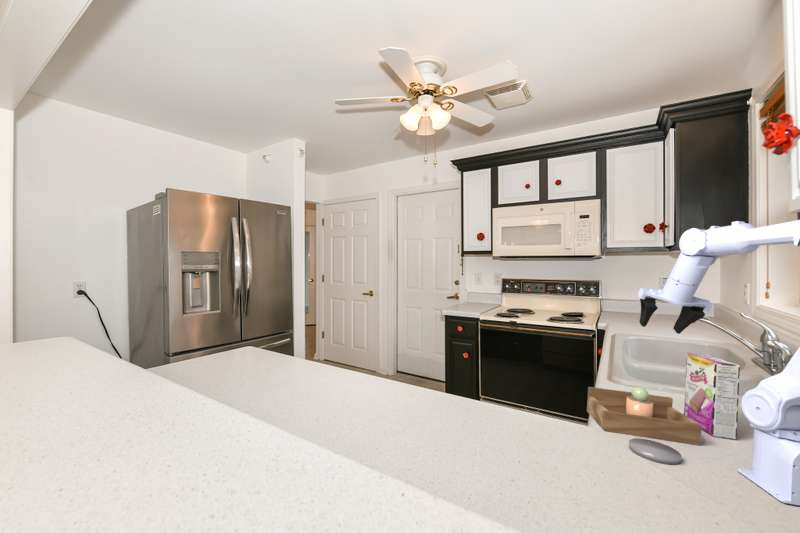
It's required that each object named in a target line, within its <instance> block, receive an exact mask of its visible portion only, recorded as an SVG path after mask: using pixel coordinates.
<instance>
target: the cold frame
mask: <svg viewBox="0 0 800 533" xmlns="http://www.w3.org/2000/svg"><path fill="white" fill-rule="evenodd" d="M628 396H632V391H623V390H617V389H608V388H602V387H601V388H600V387H593V386H588V387H587V401H586V403H587V404H586V412H587V414H589V415H590V417H592V418H591V419H593V420H594V421H595V422H596V423H597V425H598V426H599V427H600V428H601V429H602V431H604V432H609V433H616V434H623V435H628V436H636V437H640V438H641V437H642V438H648V439H655V440H660V441H661V440H662V441H668V442H675V443H681V444H689V445H693V446H694V445H695V446H700V447H701V446H702V445H701V444H702V431H703V430H702V426H701V425H700V424H698V423H696V422H695V421H693V420H692V419H690V418H688V417H687V416H685V415H684V413H682V412H681V411H678V410H677V409H675V408H674V407H673V402H674V399H673V398H672V397H670V396H661V395H656V394H655V395H654V394H649V397H648V400H650V401H652V402H653V417H646V416H639V415H632V414H626V400H627V397H628Z"/></svg>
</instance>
